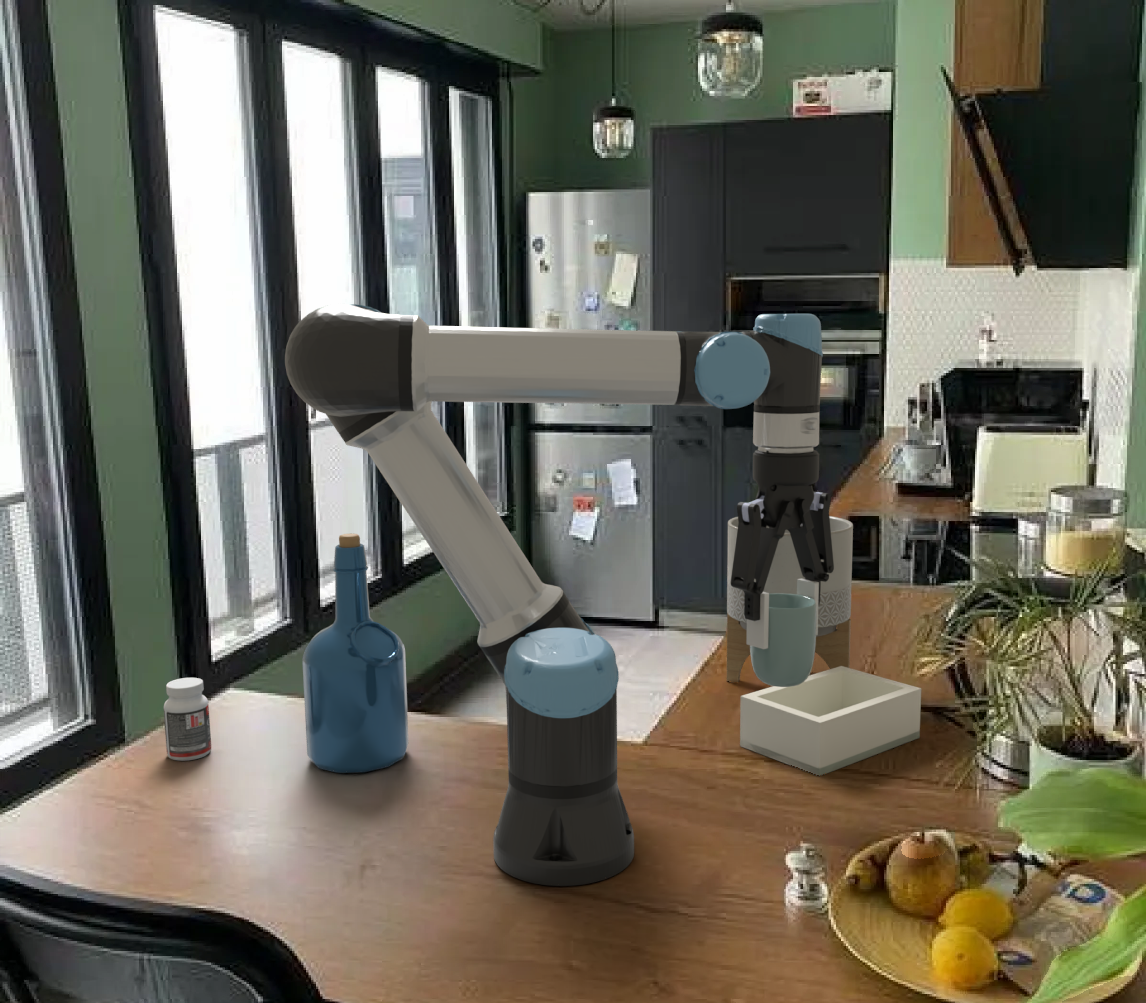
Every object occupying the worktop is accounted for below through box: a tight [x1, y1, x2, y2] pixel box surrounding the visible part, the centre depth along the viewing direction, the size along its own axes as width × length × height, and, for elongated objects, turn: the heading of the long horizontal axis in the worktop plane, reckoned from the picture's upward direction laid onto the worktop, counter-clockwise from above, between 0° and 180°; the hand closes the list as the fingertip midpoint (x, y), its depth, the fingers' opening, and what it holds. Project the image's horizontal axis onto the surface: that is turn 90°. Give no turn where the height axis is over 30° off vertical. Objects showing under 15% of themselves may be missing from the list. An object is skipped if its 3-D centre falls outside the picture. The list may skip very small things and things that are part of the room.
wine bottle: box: [302, 533, 409, 774], centre depth 148 cm, size 14×13×30 cm
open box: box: [739, 666, 922, 777], centre depth 153 cm, size 21×14×7 cm, turn 128°
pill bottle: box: [163, 677, 212, 762], centre depth 151 cm, size 6×6×10 cm
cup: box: [750, 593, 817, 687], centre depth 134 cm, size 8×8×10 cm
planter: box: [726, 515, 854, 683], centre depth 176 cm, size 19×19×26 cm
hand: (782, 639), depth 134 cm, fingers closed on cup, 8 cm apart
